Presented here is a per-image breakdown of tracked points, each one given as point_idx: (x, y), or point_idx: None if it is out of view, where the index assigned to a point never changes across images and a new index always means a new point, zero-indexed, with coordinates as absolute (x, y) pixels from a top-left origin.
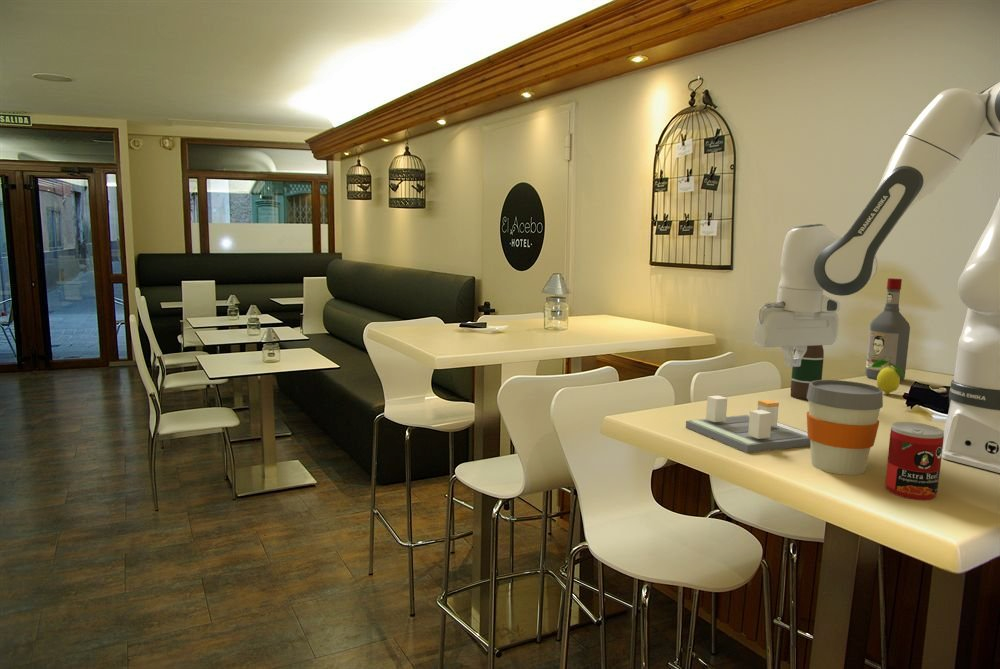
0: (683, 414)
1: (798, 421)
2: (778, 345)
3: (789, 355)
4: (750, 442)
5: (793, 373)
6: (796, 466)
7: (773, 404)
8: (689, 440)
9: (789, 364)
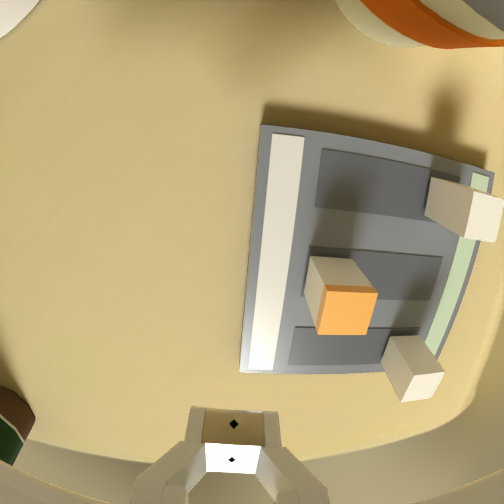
0: (344, 425)
1: (128, 315)
2: (466, 491)
3: (304, 467)
4: (479, 182)
5: (18, 448)
6: (464, 54)
7: (350, 289)
8: (491, 286)
9: (278, 423)
